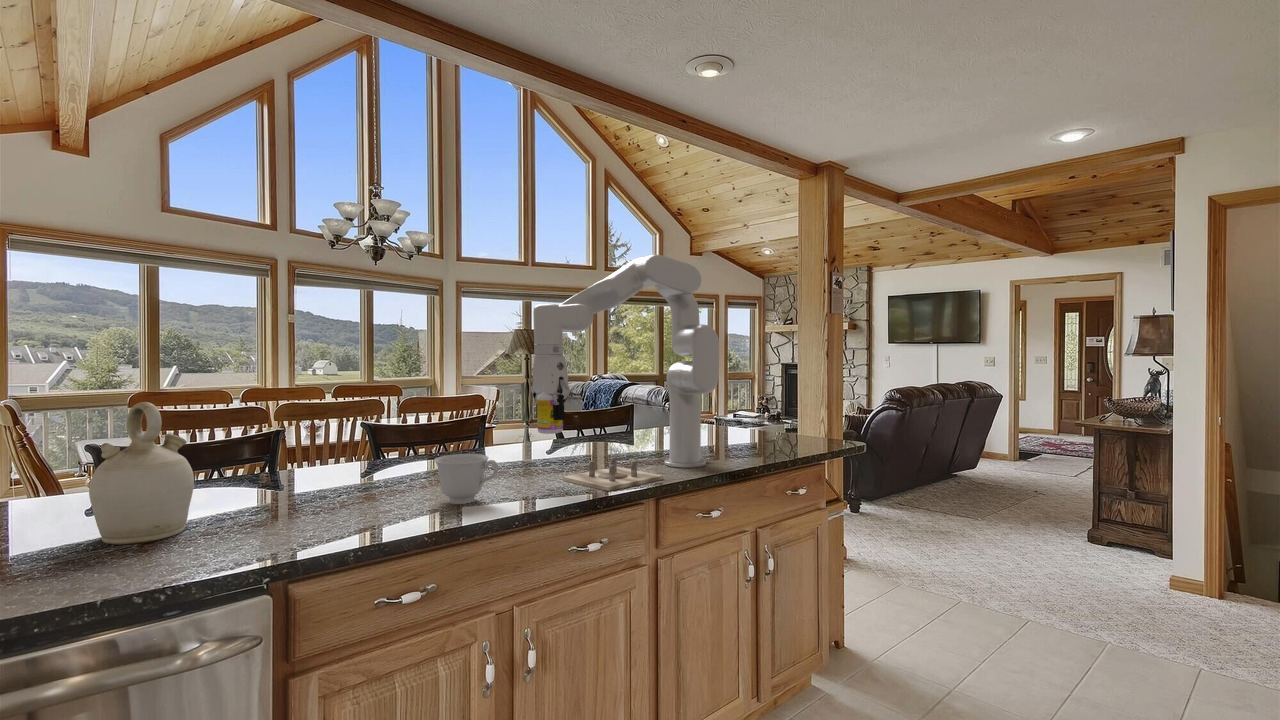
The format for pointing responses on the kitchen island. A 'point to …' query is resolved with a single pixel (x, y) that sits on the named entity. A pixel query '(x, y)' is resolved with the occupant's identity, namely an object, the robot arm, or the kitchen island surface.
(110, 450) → the jug
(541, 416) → the supplement bottle
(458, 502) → the teacup
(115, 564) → the kitchen island surface
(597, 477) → the holder
